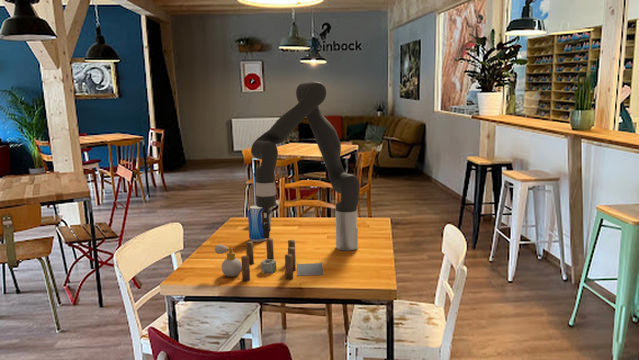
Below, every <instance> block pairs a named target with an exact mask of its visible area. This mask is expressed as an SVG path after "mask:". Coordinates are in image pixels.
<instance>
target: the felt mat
mask: <svg viewBox="0 0 639 360" xmlns="http://www.w3.org/2000/svg"><path fill="white" fill-rule="evenodd" d="M296 269H297V273H296V275H297V277H300V276H301V277H303V276H306V277H308V276H309V277H310V276H324V273H325V272H324V268H323V263H322V262H315V263H314V262H313V263H312V262H311V263H296Z"/></svg>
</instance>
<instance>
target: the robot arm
mask: <svg viewBox="0 0 639 360" xmlns="http://www.w3.org/2000/svg"><path fill="white" fill-rule="evenodd" d="M295 95H296V100H297V102H298V103H297V104H296V105H294V106H293V107H292V108H291V109H289V110H288V111H286V112H285V113H283V114H282V115H281V116H280V117H279V118H278V119H277V120H276V121H275V122H274V124H272V126H271V127H269V129H268V130H266V132H264V133H263V134H262V135H260V136H259V137H257V138H256V140H255V141H254V142H253V143H252V145H251V148H250V152H251V155H252V157H254V158H256V159H257V160H261V164H260V165H259V166H257V167H256V168H255V205H256V206H257V207H262V208H263V210H261V216H262V220H261V221H262V229H263V237H264V239H268V238H270V232H271V231H272V229H271V228H272V227H271V223H272V215H273V210H272V209H271V208H273V207H276V205H277V191H276V190H277V189H276V188H277V187H276V181H275V180H276V179H275V178H276V176H275V175H276V174H275V170H276V166H277V161H278V155H279V152H278V151H279V150H278V147H277V145H279V144H282V143H284V142H285V141H286V139H287V138H288V137H289V136H290V135H291V133H292V132H293V131H294V130H295V129H296V127H298V125H299V124H300V123H301V122H302V121H303V120H304V119H305V118H306V120H307V122H308V124H309V127H310V129H311V131H312V134H313V136H314V139H315V142H316V144H317V146H318V149H319V151H320V154H321V157H322V159H323V162H324V165H325V167H326V170H327V173H328V177H329V180H330V183H331V187H332V189H333V191H335V192H336V193H337V194H340V195H341V196H340V201H337V202H336V203H335V245H336V246H335V247H336V249H337V250H338V251H344V252H346V251H347V252H348V251H355V250H358V249H359V247H358V246H359V244H358V241H359V240H358V236H359V235H358V230H359V229H358V219H357V218H358V217H357V216H358V211H357V210H358V204H359V201H360V198H359V197H360V181H359V179H358V177H357V176H356V175H354V174H351V173H347V172H345V169H344V167H343V164H342V161H341V152H342V145H341V141H340V138H339V135H338V132H337V130H336V128H335V127H334V125H332V124H331V122H330V121H329V120H328V119H327V118H326V117H325V115H323V113H322V111H321V109H320V107H319V106H320V105H321V104H322V103H324V101H325V99H326V97H327V89H326V86H325V85H324V83H322V82H319V81H309V82H308V81H307V82H302V83H299V84H298V85H297V88H296V90H295ZM264 224H265V225H264Z"/></svg>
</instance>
